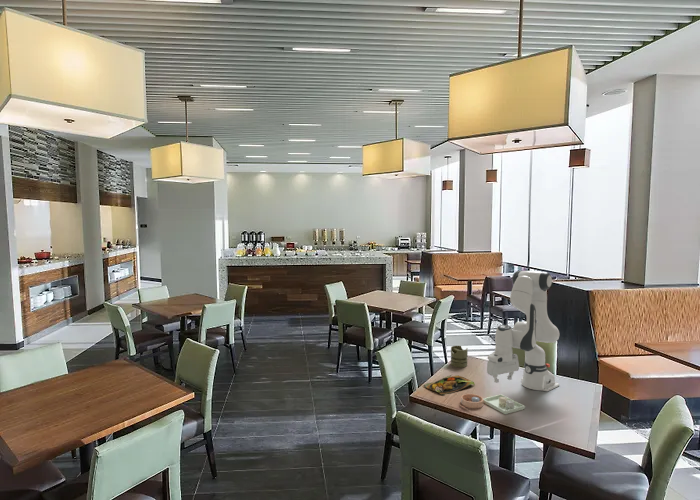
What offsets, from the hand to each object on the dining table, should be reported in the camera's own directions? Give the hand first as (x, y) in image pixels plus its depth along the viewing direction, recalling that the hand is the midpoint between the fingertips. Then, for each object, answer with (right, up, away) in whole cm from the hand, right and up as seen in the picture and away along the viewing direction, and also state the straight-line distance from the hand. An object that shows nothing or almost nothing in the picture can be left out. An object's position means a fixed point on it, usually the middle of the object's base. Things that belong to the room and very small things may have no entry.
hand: (503, 380), depth 220 cm
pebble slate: (-15, -14, +1) cm, 20 cm away
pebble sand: (0, -14, +1) cm, 14 cm away
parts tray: (0, -14, +1) cm, 14 cm away
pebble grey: (+2, -14, -4) cm, 14 cm away
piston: (-6, -10, +67) cm, 68 cm away
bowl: (-16, -14, +3) cm, 21 cm away
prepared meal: (-22, -13, +29) cm, 39 cm away
